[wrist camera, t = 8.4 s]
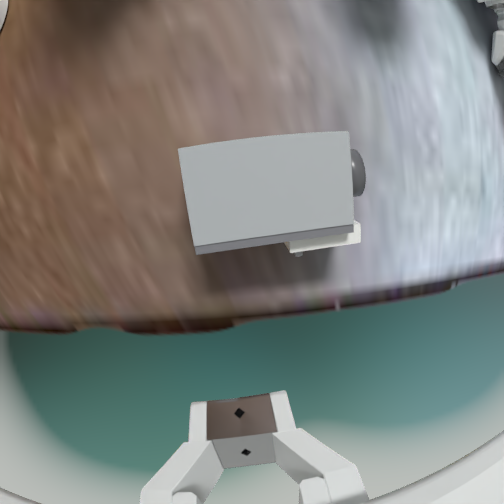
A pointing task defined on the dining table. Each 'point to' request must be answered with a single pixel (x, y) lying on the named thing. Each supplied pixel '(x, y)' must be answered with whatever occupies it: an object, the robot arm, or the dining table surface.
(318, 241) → the side door
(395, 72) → the dining table surface
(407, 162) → the dining table surface
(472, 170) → the dining table surface
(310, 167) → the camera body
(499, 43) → the spaceship
